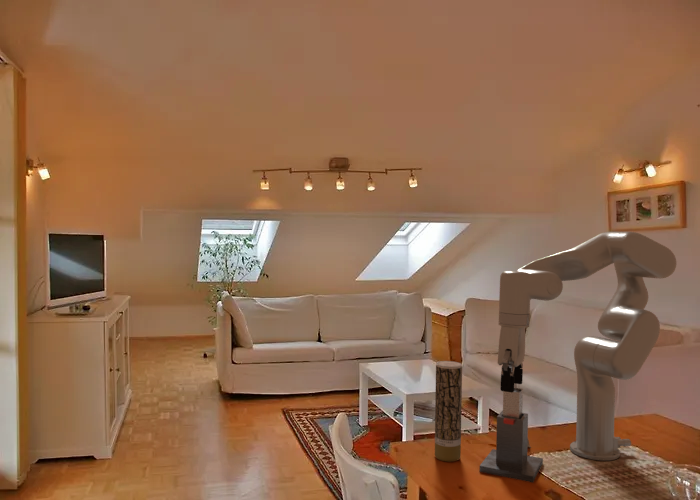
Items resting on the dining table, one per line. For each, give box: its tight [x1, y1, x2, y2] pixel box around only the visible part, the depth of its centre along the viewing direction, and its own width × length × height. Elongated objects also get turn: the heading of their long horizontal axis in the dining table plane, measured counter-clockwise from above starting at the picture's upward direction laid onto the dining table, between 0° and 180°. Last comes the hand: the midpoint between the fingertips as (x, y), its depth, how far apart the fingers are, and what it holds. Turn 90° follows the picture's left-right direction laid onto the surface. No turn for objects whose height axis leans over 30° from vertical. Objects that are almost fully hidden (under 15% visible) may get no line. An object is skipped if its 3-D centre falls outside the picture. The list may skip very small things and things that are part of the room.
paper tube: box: [434, 360, 463, 463], centre depth 154 cm, size 7×7×25 cm
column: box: [502, 387, 524, 419], centre depth 148 cm, size 4×4×18 cm
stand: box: [479, 409, 544, 483], centre depth 148 cm, size 13×13×14 cm
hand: (511, 387), depth 147 cm, fingers open, 9 cm apart
